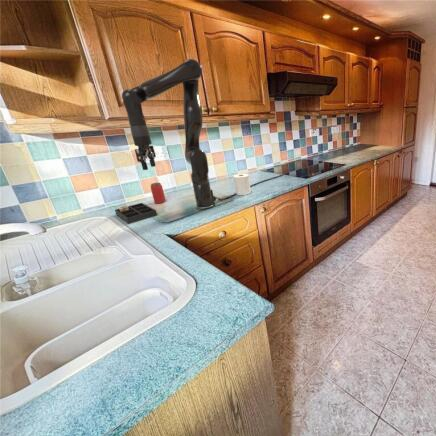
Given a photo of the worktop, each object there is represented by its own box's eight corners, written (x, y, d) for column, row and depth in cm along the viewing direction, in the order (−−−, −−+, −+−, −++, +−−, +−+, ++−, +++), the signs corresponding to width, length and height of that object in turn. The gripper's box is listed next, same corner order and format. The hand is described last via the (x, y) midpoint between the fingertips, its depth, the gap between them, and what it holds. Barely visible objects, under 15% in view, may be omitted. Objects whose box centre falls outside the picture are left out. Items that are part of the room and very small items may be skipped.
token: (128, 211, 149) (126, 205, 148) (130, 212, 147) (128, 206, 145) (119, 213, 147) (117, 207, 145) (122, 215, 144) (120, 209, 142)
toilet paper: (251, 190, 179) (249, 173, 174) (250, 194, 169) (248, 176, 164) (236, 191, 178) (234, 174, 174) (234, 195, 169) (232, 177, 164)
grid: (143, 207, 157) (141, 202, 155) (157, 215, 143) (155, 210, 142) (116, 214, 147) (114, 209, 146) (128, 223, 133) (126, 218, 132)
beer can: (160, 204, 161) (155, 185, 156) (152, 203, 162) (147, 185, 158) (168, 200, 166) (163, 182, 162) (159, 200, 168) (155, 182, 164)
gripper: (141, 136, 120) (150, 170, 126) (155, 133, 133) (162, 165, 139) (125, 136, 119) (135, 171, 126) (140, 134, 133) (148, 165, 139)
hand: (149, 168), depth 132 cm, fingers open, 8 cm apart
